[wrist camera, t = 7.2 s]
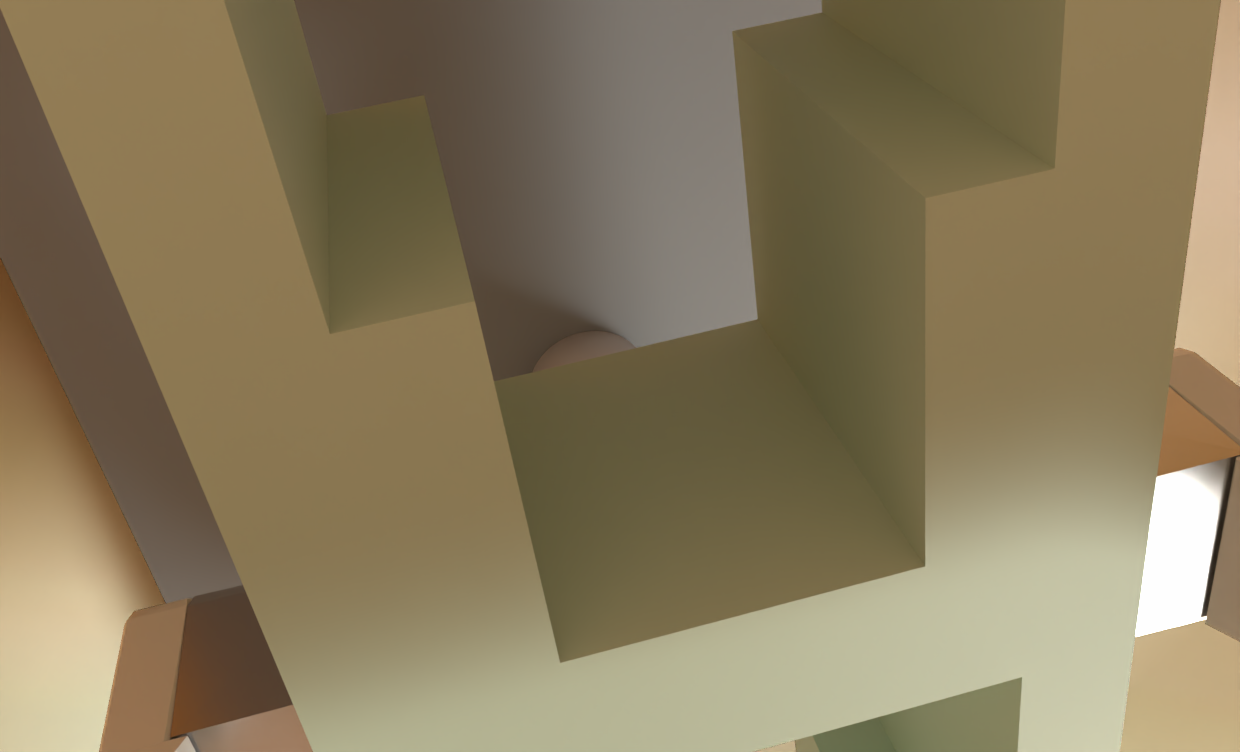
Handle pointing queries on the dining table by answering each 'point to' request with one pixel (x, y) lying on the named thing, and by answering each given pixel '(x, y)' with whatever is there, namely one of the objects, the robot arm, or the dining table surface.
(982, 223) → the cream rectangular bar
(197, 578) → the boss board
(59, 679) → the dining table surface
